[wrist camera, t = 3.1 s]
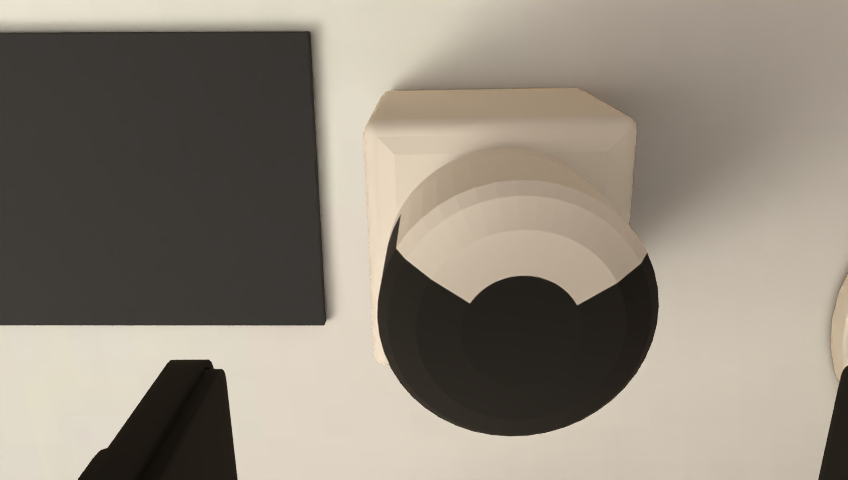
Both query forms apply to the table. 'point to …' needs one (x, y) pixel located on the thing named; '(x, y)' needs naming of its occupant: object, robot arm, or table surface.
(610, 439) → the table surface
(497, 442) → the table surface
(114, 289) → the desk mat
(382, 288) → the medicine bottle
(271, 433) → the table surface
